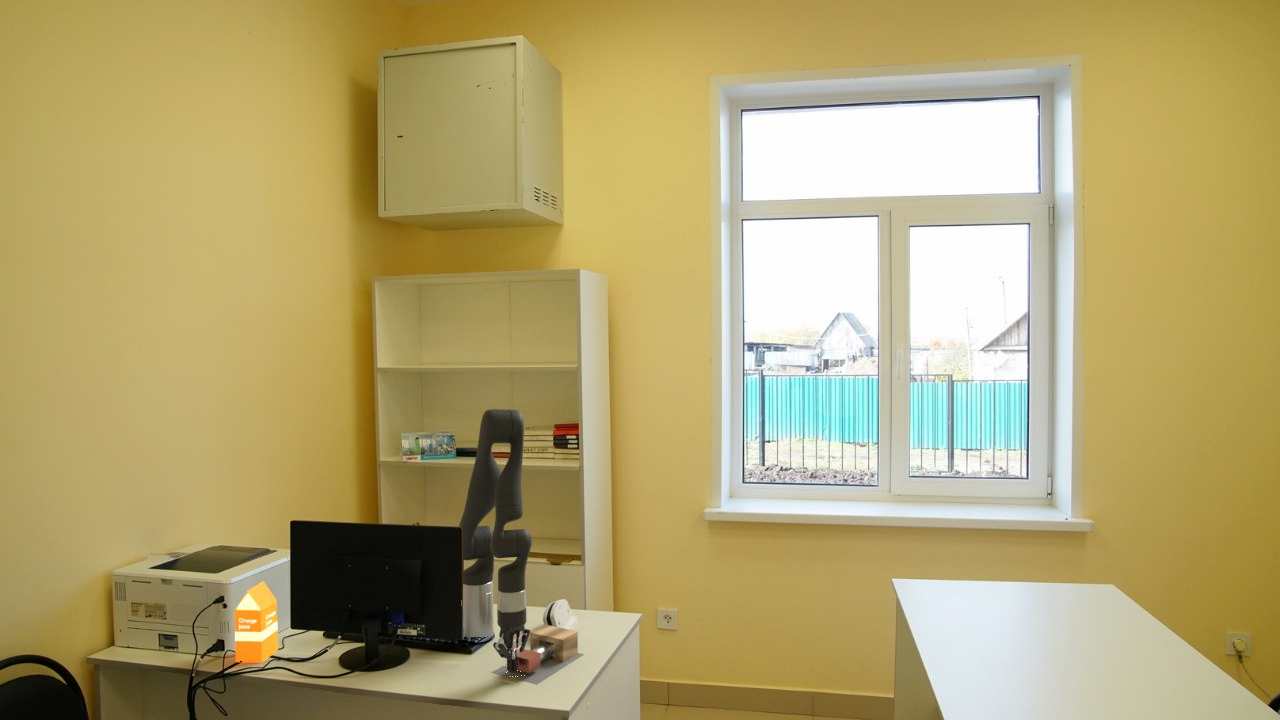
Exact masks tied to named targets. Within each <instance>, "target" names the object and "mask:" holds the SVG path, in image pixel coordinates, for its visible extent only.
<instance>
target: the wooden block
mask: <svg viewBox="0 0 1280 720" xmlns="http://www.w3.org/2000/svg"><path fill="white" fill-rule="evenodd" d="M578 636H579V635H578V631H577V630H568V629H564V628H559V627H554V626H550V625H544V624H543V625H542V626H540V627H538V628H536V629H535V630H533V631H532V630H531V631H530V635H529V637H530V639H529V640H530V650H531V651H532V650H533V649H535V648H537V647H539V646H540V645H542V644H544V643H546V642H551V643H554V658H555V661H559V662H563V663H564V662H565V661H567V660H568V659H570V658H572V657H573V656H575V655H576V654H578V653H579V652H578V651H579V650H578V649H579V648H578V647H579V643H578V642H579V641H578V639H579V637H578Z"/></svg>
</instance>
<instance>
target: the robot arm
mask: <svg viewBox="0 0 1280 720" xmlns="http://www.w3.org/2000/svg"><path fill="white" fill-rule="evenodd" d="M524 439H525V422H524V417H523V414H522V412H521V411H520V410H519V409H505V408H504V409H502V408H501V409H499V408H494V409H493V408H492V409H491V408H490V409H487V410H485V411H484V413H483V414H482V417H481V421H480V426H479V435H478V441H477V449H476V454H475V455H476V456H475V460H474V465H473V469H472V472H471V477H470V480H469V483H468V484H469V485H468V488H467V494H466V500H465V501H466V502H465V504H464V509H463V513H462V516H461V519H460V522H459V524H458V527H459V528H462V530H463V560H462V561H471V560H476V561H475V562H474V563H473V564H472V565H470V566H468V567H467V568H465V569H464V570H463V571H462V572H463V603H464V604H463V610H464V637H465V636H466V637H487V636H488V637H491V636H493V635H495V634H494V633H495V632H494V571H495V558H497V559H507V558H515V560H514V561H513V562H511V563H509V564H505V565H502V566H501V567H499V568H498V570H497V595H496V611H497V614H496V616H497V617H496V618H497V625H498V627H499V629H500V631H499V634H498V637H499V638H498V640H497V642H496V641H494V642H493V644H492V647H493V648H494V650H495V651H496V653H497V654H498V655H499V657H500V658H502V659H506V664H507V670H508V672H512V673H514V672H516V671H517V670H518V656H519V653H520V652H523V650H524V649H526V645H527V642H528V640H529V637H530V632H531V629H527V628H525V625H526V623H527V593H526V569H527V568H526V567H527V563H528V559H529V556H530V552H531V548H532V541H533V540H532V536H531V534H530V531H528V530H527V529H525V528H518V529H506V530H505V525H506V524H509V523H511V522H514V521H518V520H521V519H522V517H523V512H524V510H523V498H522V497H523V496H522V470H523V458H524V456H523V455H524ZM494 444H510V447H509V448H510V450H509V456H508V459H507V461H506V464H505V465H504V468H503V470H501V468H500V466H499V464H498V463H497V461H496V459H495V457H494V455H493V452H492V448H493V445H494ZM494 508H495V520H494V527H493V529H492V528H491V527H490V526H489V525H479V524H480V523H481V522H482V521H483V520H484V518H485V517H487V515H488V514H490V512H491V511H492V510H493V509H494Z"/></svg>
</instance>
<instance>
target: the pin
mask: <svg viewBox="0 0 1280 720" xmlns="http://www.w3.org/2000/svg"><path fill="white" fill-rule="evenodd" d="M530 650H531V649H530ZM530 650H529V649H527V648H524V650H523V652H520V653H519V656H518V671H522V672H526V673H530V672H532V671H533V670H535V669H537V668H538V667H540V663H541V662H543V661H544V660H546V659H548V658H549V657H551V656H553V655H554V643H551V642H546V643H544V644H542V645H540V646H539V647H537V648H535V649H533V650H532V651H530Z"/></svg>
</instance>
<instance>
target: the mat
mask: <svg viewBox="0 0 1280 720" xmlns="http://www.w3.org/2000/svg"><path fill="white" fill-rule="evenodd" d="M530 651H531V649H530ZM584 655H585V654H584V653H580V652H578V654H576V655H575V656H573V657H572V658H570V659H568V660H567V661H565V662H564V663H563V662H559V661H555V658H554V655H553V656H551V657H549V658H548V659H546V660H544V661H543V662H541V663H540V667H538V668H537V669H535V670H533V671H532V672H530V673H526V672H522V671H521V672H520V671H516V672H514V673H512V672H507V671H508V670H507V666H506V665H507V663H506V664H504V665H505V666H504V665H502V666H500V667H498V668H497V669H495V670H493V671H492V672H491V673H492V674H497V675H500V676H503V677H507V678H510V677H509V676H511V678H510V679H515V680H519V681H522V682H526V683H529V684H534V685H538V684H540V683H542V682H544V681H545V680H547V679H548V678H549V677H552V676H553V675H554V674H556V673H558V672H559V671H561V670H562V669H564V668H566V667H567V666H569V665H570V664H571V663H573V662H575V661H577V660H578V659H579V658H581V657H583V656H584ZM506 672H507V673H506ZM521 675H522V676H521ZM524 675H525V676H524ZM512 676H513V677H514V678H513V677H512ZM515 676H516V677H515ZM517 676H518V677H517Z"/></svg>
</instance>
